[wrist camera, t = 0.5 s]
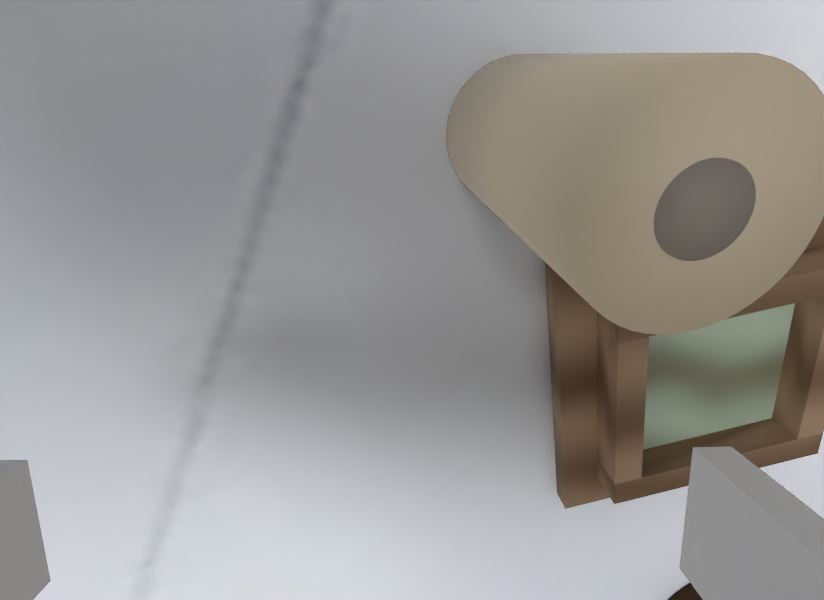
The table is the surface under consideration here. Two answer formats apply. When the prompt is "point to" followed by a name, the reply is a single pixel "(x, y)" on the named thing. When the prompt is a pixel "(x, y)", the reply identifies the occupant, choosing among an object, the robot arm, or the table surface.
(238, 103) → the table surface
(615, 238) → the kraft paper roll
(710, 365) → the walnut roll stand
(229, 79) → the table surface
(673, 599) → the brown bottle
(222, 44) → the table surface
